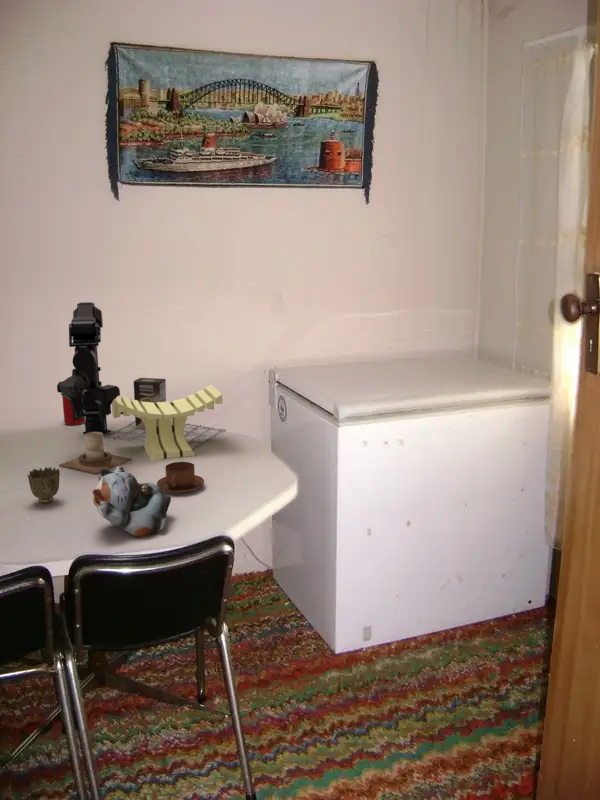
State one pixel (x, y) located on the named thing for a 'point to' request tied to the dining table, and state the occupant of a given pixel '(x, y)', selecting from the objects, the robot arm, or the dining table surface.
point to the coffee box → (149, 394)
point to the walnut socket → (95, 463)
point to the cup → (44, 484)
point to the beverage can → (71, 414)
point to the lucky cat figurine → (131, 503)
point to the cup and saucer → (180, 478)
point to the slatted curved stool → (167, 421)
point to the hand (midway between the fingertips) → (90, 418)
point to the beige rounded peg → (94, 445)
